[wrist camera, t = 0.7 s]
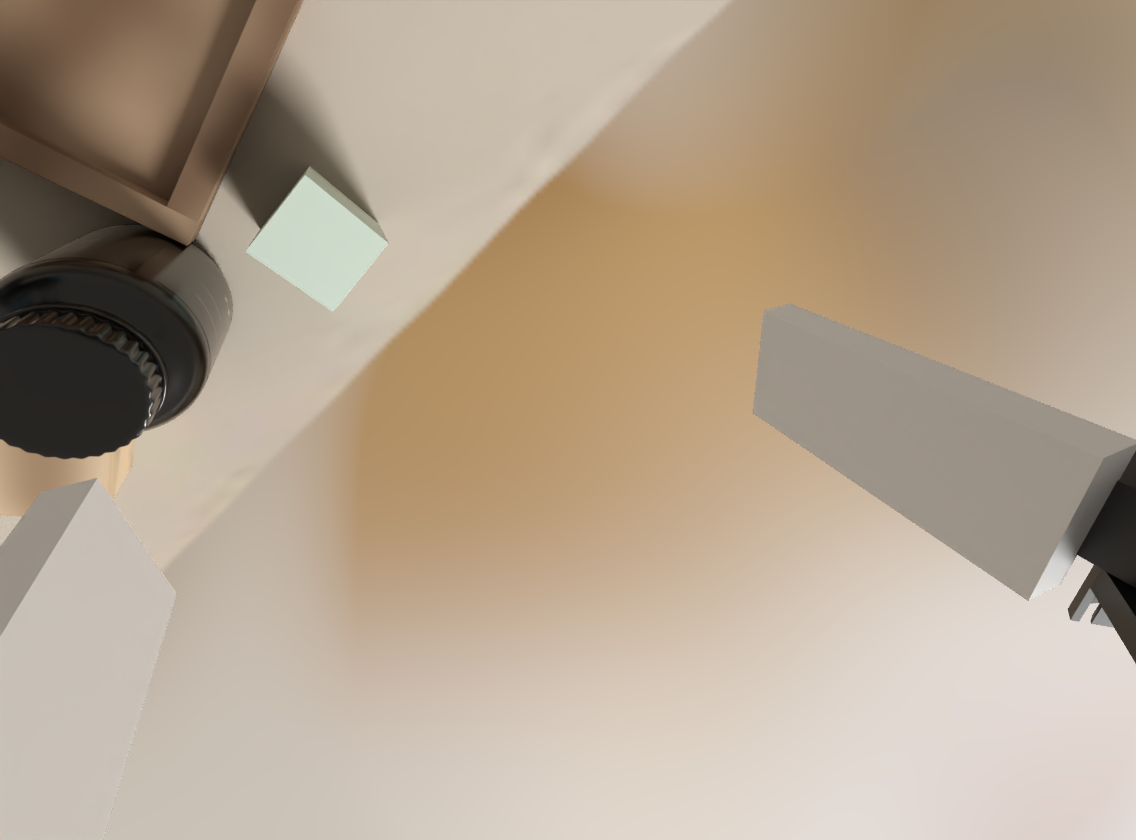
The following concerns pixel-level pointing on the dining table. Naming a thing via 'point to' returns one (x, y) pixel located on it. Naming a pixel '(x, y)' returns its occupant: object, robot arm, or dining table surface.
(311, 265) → the sage cube
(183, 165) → the walnut tray
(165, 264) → the supplement bottle
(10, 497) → the oak block
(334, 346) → the dining table surface
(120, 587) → the robot arm
